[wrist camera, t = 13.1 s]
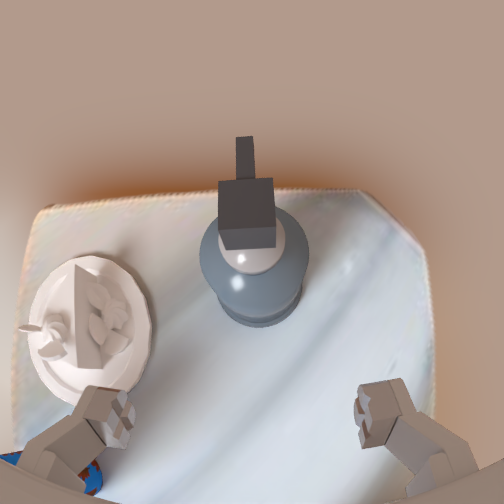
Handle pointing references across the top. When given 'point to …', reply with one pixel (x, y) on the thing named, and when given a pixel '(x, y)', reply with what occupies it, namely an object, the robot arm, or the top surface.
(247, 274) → the dispenser
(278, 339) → the top surface
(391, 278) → the top surface
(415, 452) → the robot arm
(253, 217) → the pump head
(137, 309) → the dish
